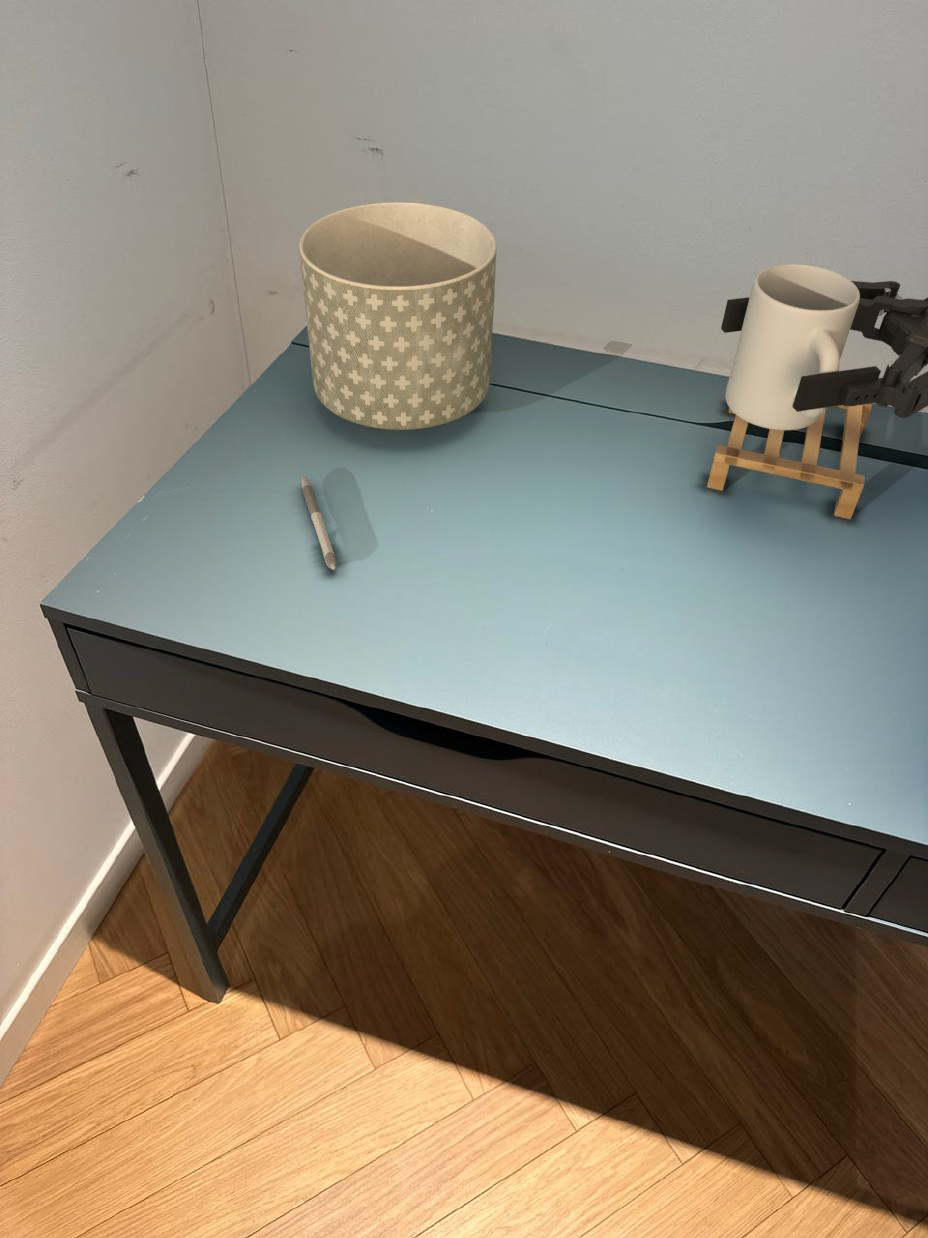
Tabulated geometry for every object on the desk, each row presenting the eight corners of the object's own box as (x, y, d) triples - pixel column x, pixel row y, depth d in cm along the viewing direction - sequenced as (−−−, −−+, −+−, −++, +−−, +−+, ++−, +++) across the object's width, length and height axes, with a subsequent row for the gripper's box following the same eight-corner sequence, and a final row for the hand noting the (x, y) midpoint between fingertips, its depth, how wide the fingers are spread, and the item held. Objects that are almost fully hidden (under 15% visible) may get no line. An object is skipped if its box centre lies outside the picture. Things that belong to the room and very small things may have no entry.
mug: (711, 380, 88) (738, 264, 80) (800, 375, 89) (836, 260, 81) (757, 458, 79) (792, 337, 72) (854, 452, 80) (900, 332, 73)
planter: (509, 441, 101) (520, 276, 88) (330, 465, 97) (314, 296, 84) (464, 350, 114) (468, 194, 101) (304, 368, 110) (287, 209, 97)
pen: (328, 577, 86) (327, 565, 85) (299, 484, 95) (297, 473, 94) (339, 574, 86) (338, 563, 85) (309, 483, 95) (307, 471, 94)
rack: (850, 519, 93) (864, 485, 90) (706, 487, 96) (715, 452, 93) (860, 431, 104) (872, 397, 101) (730, 405, 107) (738, 371, 104)
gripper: (1061, 438, 78) (823, 477, 73) (892, 299, 94) (689, 323, 89) (1107, 355, 72) (854, 391, 68) (919, 222, 89) (705, 245, 84)
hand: (760, 353), depth 79 cm, fingers closed on mug, 12 cm apart
